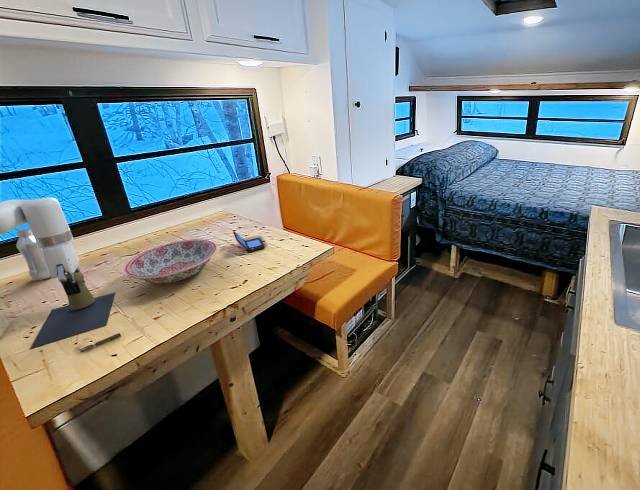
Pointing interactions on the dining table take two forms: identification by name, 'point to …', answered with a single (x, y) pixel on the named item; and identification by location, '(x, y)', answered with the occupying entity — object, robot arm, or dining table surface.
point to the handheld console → (250, 243)
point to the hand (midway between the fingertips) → (76, 288)
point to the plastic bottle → (32, 255)
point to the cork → (80, 294)
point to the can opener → (102, 341)
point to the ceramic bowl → (171, 261)
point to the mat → (74, 320)
